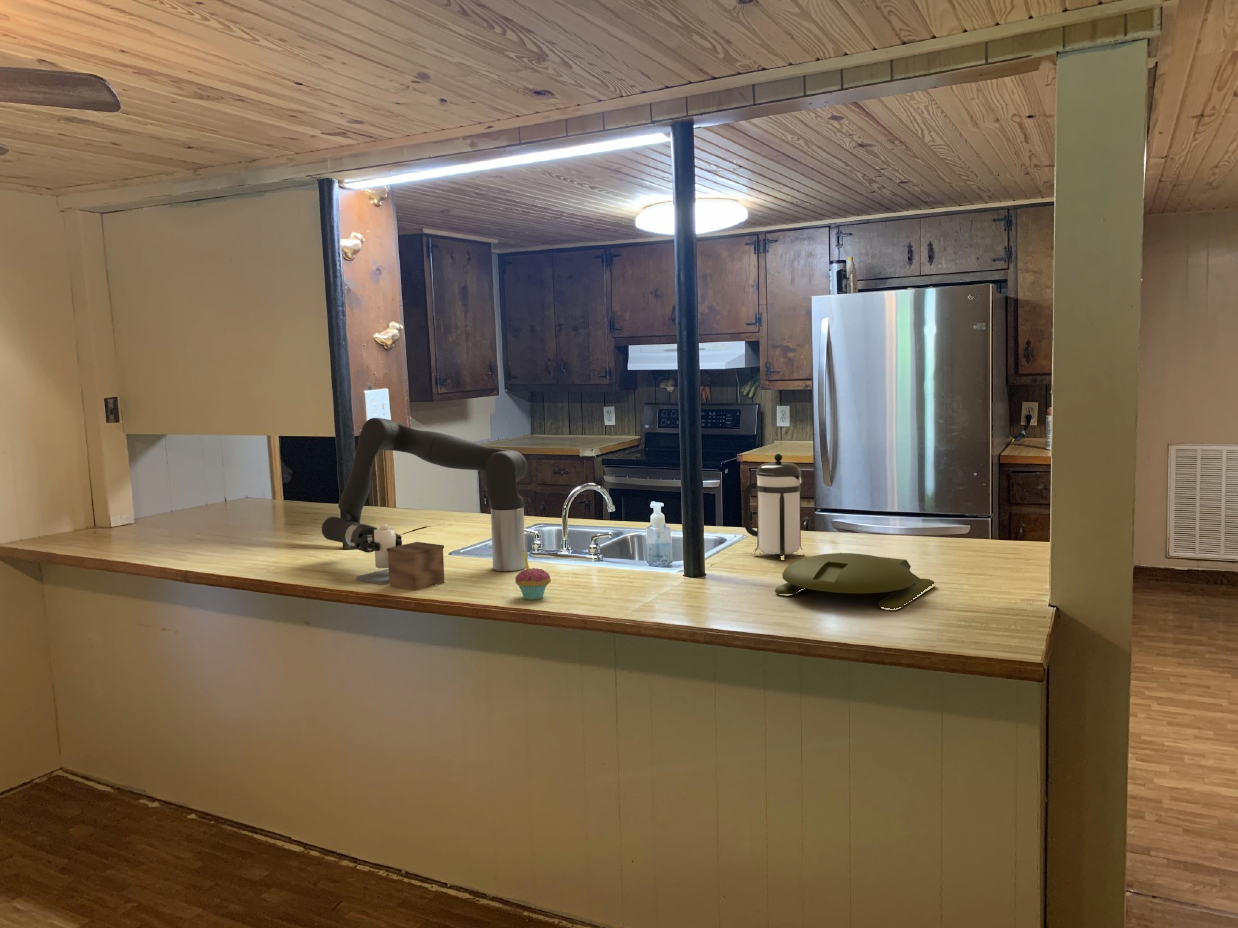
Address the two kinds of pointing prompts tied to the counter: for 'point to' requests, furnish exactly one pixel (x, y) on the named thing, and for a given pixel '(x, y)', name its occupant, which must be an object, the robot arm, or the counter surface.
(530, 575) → the cupcake
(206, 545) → the counter surface
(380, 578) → the mat
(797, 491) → the coffee press
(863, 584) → the spaceship
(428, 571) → the wooden lidded box
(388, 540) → the white pillar candle
